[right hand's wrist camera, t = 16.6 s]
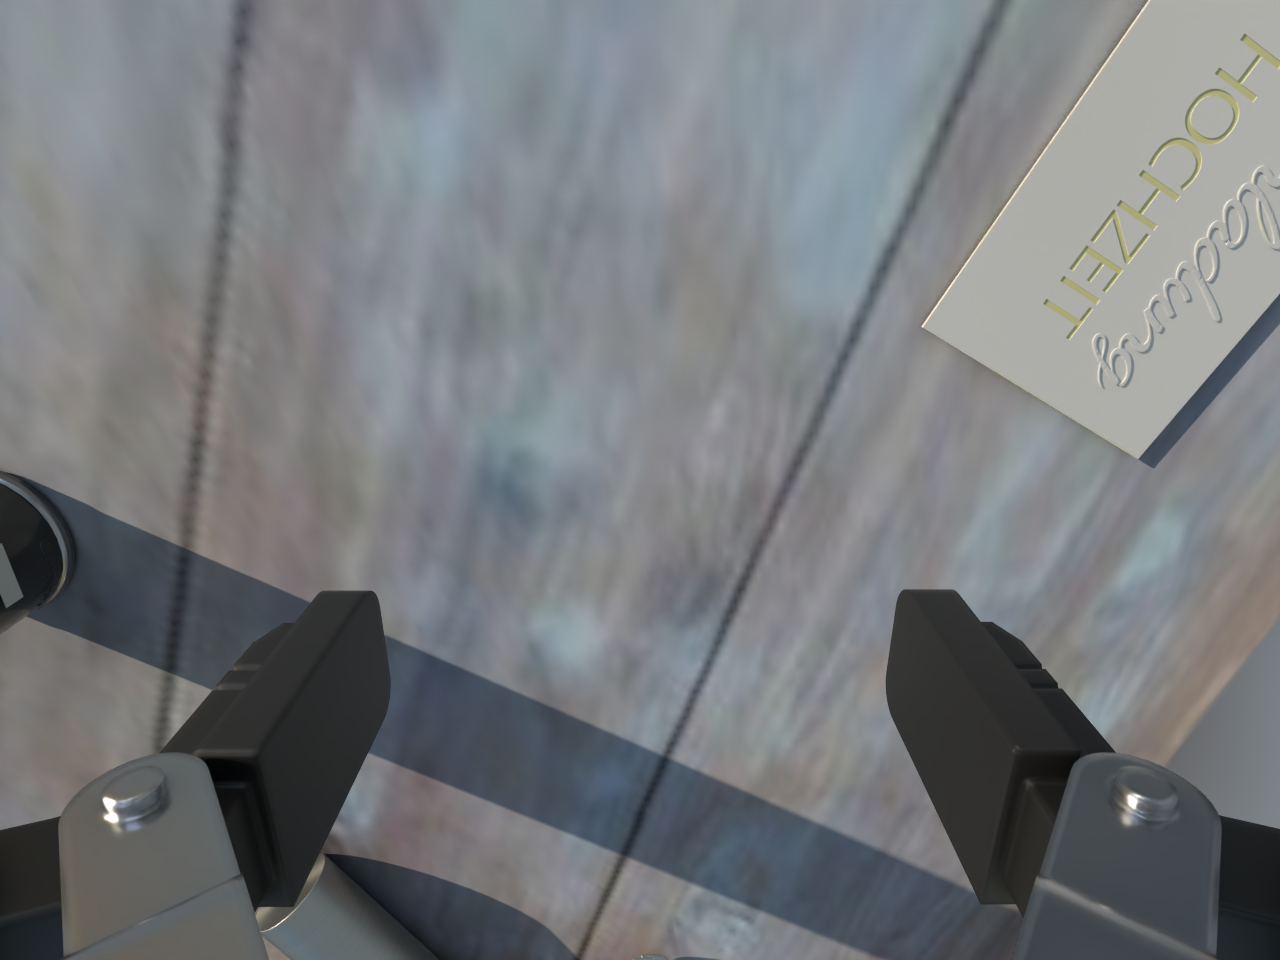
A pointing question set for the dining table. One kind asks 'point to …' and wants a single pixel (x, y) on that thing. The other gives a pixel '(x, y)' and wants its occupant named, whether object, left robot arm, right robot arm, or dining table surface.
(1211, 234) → the invitation card
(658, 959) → the fork
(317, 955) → the rod
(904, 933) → the dining table surface
